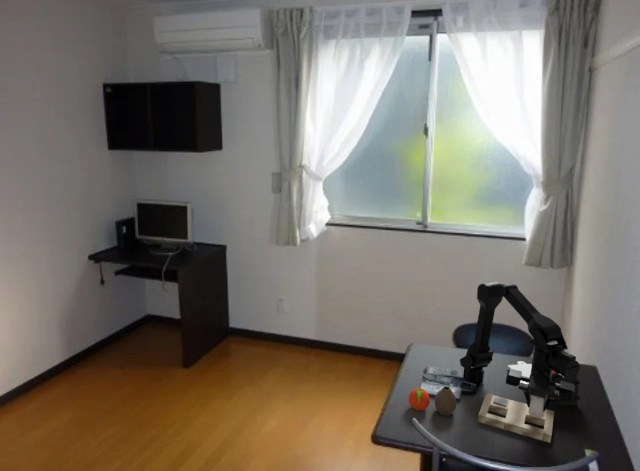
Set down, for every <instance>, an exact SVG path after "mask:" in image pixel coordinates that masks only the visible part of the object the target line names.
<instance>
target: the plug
mask: <svg viewBox="0 0 640 471" xmlns="http://www.w3.org/2000/svg"><path fill="white" fill-rule="evenodd" d="M544 402H545V398H541V397H539V396H535V395H531V394H530V405H529V412H528V413H529V414H530V415H531V416H532V417H535V418H541V417H542V416H543V409H544Z"/></svg>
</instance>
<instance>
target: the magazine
mask: <svg viewBox="0 0 640 471" xmlns="http://www.w3.org/2000/svg"><path fill="white" fill-rule="evenodd" d="M551 381H552V382H553V383H557V384H560V381H564V382H568V383H572V384H574V386H575V392H574V399H573V400H567V399H563V398H561V397H560V396H559V399H553V400H552V401H551V402H550V404H549V405H548V407H549V406H553V407H554V406H558V407H559V406H578V402H579V400H580V399H581V396H580V395H579V391H580V390H579V385H580V384H581V383H580V380H579V379H578V375H577V376H576V377H575V378H573V379H571V380H568V379H566V378H565V377H563V376H561V375H560V374H558V373H556V372H555V371H553V370H552V376H551ZM545 400H546V398H545ZM544 403H545V402H544Z"/></svg>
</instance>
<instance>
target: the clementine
mask: <svg viewBox="0 0 640 471" xmlns="http://www.w3.org/2000/svg"><path fill="white" fill-rule="evenodd" d="M430 401H431V400H430V395H429V393H428V392H427V391H426V390H425V389H423V388H421V387H419V388H413V389H412V390H411V391H410V392H409V395H408V403H409V406H411V408H412V409H414V410H416V411H424V410H425V409H427V408H428V407H429V405H430Z"/></svg>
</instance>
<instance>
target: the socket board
mask: <svg viewBox="0 0 640 471" xmlns="http://www.w3.org/2000/svg"><path fill="white" fill-rule="evenodd" d="M489 412H492V413H494V414H492V413H489ZM528 412H529V407H528V406H527V403H525V402H524V403H523V402H520V401H516V400H512V399H509V398H506V397H501V396H497V395H495V394H489V393H485V396H484V399H483V402H482V404H481V406H480V410H479V412H478V416H477V417H478V418H477V422H478V423H482V424H485V425H489V426H491V427H494V428H498V429H502V430H505V431H508V432H512V433H515V434H518V435H520V436H521V435H522V436H525V437H529V438H532V439H535V440H538V441H543V442H545V443H549V444H551V441H552V434H553V425H554V424H553V423H554V417H555V416H554V415H555V411H554V410H550V409H548V408H546V410H545V411H543V416H542V417H541V418H535V417H532V416H531V415H530V414H529V413H528ZM495 414H499V415H502V416H505V417H502V416H498V415H495ZM526 422H527V424H525V423H526ZM528 423H530V424H528ZM531 424H533V426H532V425H531ZM534 425H537V426H541V427H543V428H540V427H537V426H534Z"/></svg>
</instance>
